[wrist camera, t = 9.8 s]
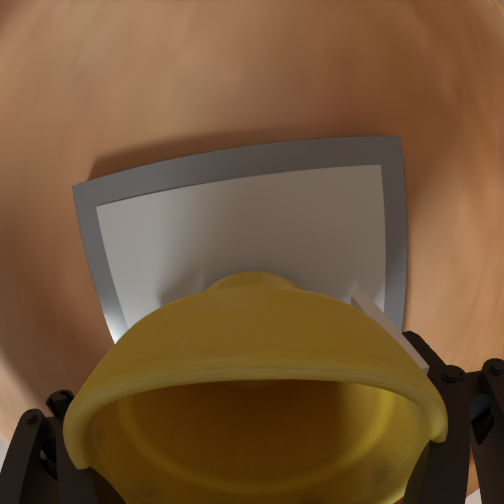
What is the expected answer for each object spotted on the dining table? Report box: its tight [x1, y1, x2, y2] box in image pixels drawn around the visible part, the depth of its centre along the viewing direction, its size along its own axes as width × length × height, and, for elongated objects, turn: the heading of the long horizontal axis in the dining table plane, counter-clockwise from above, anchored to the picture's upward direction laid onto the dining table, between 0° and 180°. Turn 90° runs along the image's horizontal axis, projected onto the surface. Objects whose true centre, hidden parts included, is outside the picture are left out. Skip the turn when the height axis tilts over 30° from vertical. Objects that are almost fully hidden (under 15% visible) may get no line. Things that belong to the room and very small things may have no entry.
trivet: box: [72, 136, 407, 343], centre depth 16 cm, size 18×18×2 cm
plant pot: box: [63, 271, 448, 504], centre depth 10 cm, size 10×10×10 cm
